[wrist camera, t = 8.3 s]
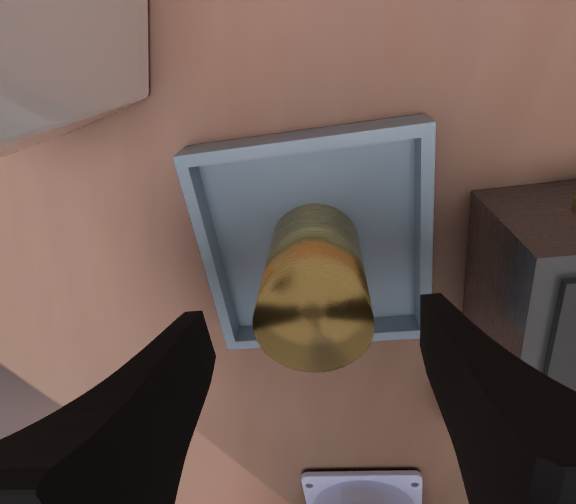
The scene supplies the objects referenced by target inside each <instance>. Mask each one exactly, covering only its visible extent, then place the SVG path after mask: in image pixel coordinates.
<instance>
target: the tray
mask: <svg viewBox="0 0 576 504" xmlns="http://www.w3.org/2000/svg"><path fill="white" fill-rule="evenodd" d="M435 137H436V121H434V120H433V119H432V118H430V117H429V116H427V115H426V114H425V113H424V114H417V115H410V116H402V117H395V118H388V119H380V120H373V121H366V122H358V123H351V124H344V125H336V126H329V127H322V128H314V129H307V130H300V131H292V132H285V133H278V134H270V135H263V136H256V137H248V138H241V139H234V140H226V141H219V142H212V143H204V144H197V145H190V146H186V147H185V148H183V149H182V150H181V151H179V152H178V153H177V154H176V155H174V156H173V159H174V163H175V166H176V170H177V174H178V177H179V181H180V184H181V188H182V191H183V195H184V198H185V202H186V205H187V209H188V212H189V216H190V219H191V223H192V226H193V230H194V233H195V237H196V240H197V244H198V247H199V251H200V254H201V258H202V261H203V265H204V268H205V272H206V275H207V279H208V282H209V286H210V289H211V293H212V296H213V300H214V303H215V307H216V310H217V314H218V318H219V321H220V325H221V328H222V332H223V335H224V339H225V342H226V346H227V349H228V350H235V349H252V348H261V347H260V345H259V344H258V342H257V340H256V338H255V335H254V332H253V325H252V321H253V314H254V310H255V305H256V301H257V297H258V293H259V289H260V285H261V281H262V277H263V273H264V269H265V264H266V260H267V256H268V252H269V248H270V244H271V240H272V236H273V232H274V229H275V227H276V225H277V223H278V222H279V220H280V219H281V218H282V217H283V216H284V215H285V214H286V213H287V212H289V211H290V210H292V209H294V208H296V207H298V206H301V205H305V204H312V203H318V204H326V205H329V206H332V207H335V208H337V209H339V210H340V211H342V212H343V213H345V214H346V215H347V216H348V217H349V218H350V219H351V221H352V222H353V224H354V225H355V227H356V230H357V232H358V237H359V242H360V247H361V253H362V258H363V263H364V268H365V274H366V279H367V284H368V289H369V295H370V300H371V305H372V311H373V316H374V323H375V328H374V335H373V338H372V341H387V340H404V339H420V295H421V294H432V262H433V220H434V179H435Z"/></svg>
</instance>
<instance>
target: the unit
mask: <svg viewBox="0 0 576 504" xmlns="http://www.w3.org/2000/svg"><path fill="white" fill-rule="evenodd" d="M463 314H464V315H465V316H466V317H467V318H468V319H469V320H470V321H472V322H473V323H474V324H475V325H476V326H477V327H479V328H480V329H481V330H482V331H483V332H485V333H486V334H487V335H488V336H489V337H491V338H492V339H493V340H494V341H496V342H497V343H498V344H500V345H501V346H503V347H504V348H505V349H507V350H508V351H509V352H511V353H512V354H514V355H515V356H516V357H518V358H519V359H521V360H523V361H524V362H526V363H527V364H529V365H530V366H532V367H534V368H535V369H537V370H538V371H540V372H542V373H543V374H545V375H547V376H548V377H550V378H552V379H554V380H555V381H557V382H559V383H561V384H563V385H565V386H567V387H568V388H570V389H572V390H574V391H576V180H567V181H558V182H549V183H539V184H530V185H521V186H512V187H502V188H493V189H484V190H475V191H472V192H471V206H470V221H469V235H468V249H467V264H466V278H465V292H464V306H463Z"/></svg>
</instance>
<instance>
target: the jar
mask: <svg viewBox="0 0 576 504" xmlns="http://www.w3.org/2000/svg"><path fill="white" fill-rule="evenodd" d="M148 95H149V53H148V0H0V158H1V157H4V156H7V155H10V154H12V153H15V152H18V151H20V150H23V149H26V148H29V147H31V146H34V145H37V144H40V143H42V142H45V141H48V140H50V139H53V138H56V137H59V136H61V135H64V134H66V133H69V132H71V131H73V130H75V129H78V128H80V127H82V126H84V125H87V124H89V123H91V122H94V121H96V120H98V119H100V118H103V117H105V116H107V115H110V114H112V113H114V112H116V111H119V110H121V109H123V108H125V107H128V106H130V105H132V104H135V103H137V102H139V101H141V100H144V99H146V98H147V97H148Z"/></svg>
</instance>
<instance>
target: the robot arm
mask: <svg viewBox="0 0 576 504" xmlns="http://www.w3.org/2000/svg"><path fill="white" fill-rule="evenodd" d="M420 347H421V352H422V356H423V360H424V365H425V369H426V373H427V376H428V378H429V381H430V384H431V387H432V389H433V392H434V395H435V397H436V400H437V403H438V405H439V408H440V411H441V413H442V416H443V419H444V421H445V424H446V426H447V429H448V432H449V434H450V437H451V440H452V443H453V446H454V449H455V452H456V456H457V459H458V463H459V467H460V471H461V474H462V478H463V482H464V486H465V490H466V493H467V497H468V501H469V504H576V391H574V390H572V389H570V388H568V387H567V386H565V385H563V384H561V383H559V382H557V381H555V380H554V379H552V378H550V377H548V376H547V375H545V374H543V373H542V372H540V371H538V370H537V369H535V368H534V367H532V366H530V365H529V364H527V363H526V362H524V361H523V360H521V359H519V358H518V357H516V356H515V355H514V354H512V353H511V352H509V351H508V350H507V349H505V348H504V347H503V346H501V345H500V344H498V343H497V342H496V341H494V340H493V339H492V338H491V337H489V336H488V335H487V334H486V333H485V332H483V331H482V330H481V329H480V328H479V327H477V326H476V325H475V324H474V323H473V322H472V321H470V320H469V319H468V318H467V317H466V316H465V315H464V314H463V313H462V312H460V311H459V310H458V309H457V308H456V307H455V306H454V305H453V304H452V303H451V302H450V301H449V300H448V299H447V298H445V297H444V296H443V295H442V294H441V293H435V294H421V295H420ZM215 359H216V355H215V352H214V349H213V345H212V342H211V339H210V335H209V332H208V329H207V325H206V322H205V319H204V315H203V312H202V311H191V312H185V313H183V314H182V315H181V316H180V317H178V318H177V319H176V320H175V321H174V322H173V323H172V324H170V325H169V326H168V327H167V328H166V329H165V330H164V331H163V332H162V333H161V334H159V335H158V336H157V337H156V338H155V339H154V340H153V341H152V342H151V343H149V344H148V345H147V346H146V347H145V348H144V349H143V350H141V351H140V352H139V353H138V354H137V355H135V356H134V357H133V358H132V359H131V360H129V361H128V362H127V363H126V364H124V365H123V366H122V367H121V368H120V369H118V370H117V371H116V372H114V373H113V374H112V375H110V376H109V377H108V378H106V379H105V380H104V381H102V382H101V383H99V384H98V385H96V386H95V387H94V388H92V389H91V390H89V391H88V392H86V393H85V394H83V395H81V396H80V397H78V398H77V399H75V400H73V401H72V402H70V403H68V404H67V405H65V406H63V407H62V408H61V409H59V410H57V411H55V412H54V413H52V414H50V415H48V416H46V417H44V418H43V419H41V420H39V421H37V422H35V423H33V424H31V425H29V426H27V427H26V428H24V429H21V430H20V431H17V432H15V433H13V434H11V435H10V436H7V437H5V438H3V439H1V440H0V504H175V500H176V495H177V490H178V486H179V482H180V477H181V473H182V469H183V465H184V461H185V457H186V454H187V450H188V447H189V444H190V441H191V438H192V436H193V433H194V430H195V427H196V424H197V421H198V419H199V416H200V413H201V410H202V407H203V404H204V401H205V399H206V396H207V393H208V390H209V387H210V384H211V379H212V375H213V370H214V364H215ZM301 482H302V487H303V491H304V496H305V500H306V504H422V475H421V473H420V472H419V471H416V470H396V471H323V472H305V473H303V474H302V477H301Z"/></svg>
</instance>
